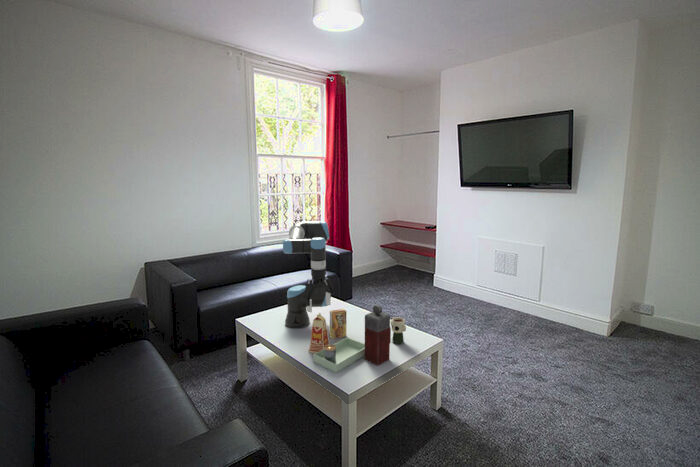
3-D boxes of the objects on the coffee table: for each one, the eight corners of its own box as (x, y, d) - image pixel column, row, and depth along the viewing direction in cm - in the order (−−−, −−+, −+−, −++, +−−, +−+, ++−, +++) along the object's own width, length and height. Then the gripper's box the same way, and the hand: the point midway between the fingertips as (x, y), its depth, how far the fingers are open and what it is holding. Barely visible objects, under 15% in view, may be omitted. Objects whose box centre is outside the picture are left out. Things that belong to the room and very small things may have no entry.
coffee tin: (322, 363, 166) (322, 347, 165) (330, 358, 171) (330, 343, 169) (330, 367, 163) (330, 351, 162) (338, 362, 167) (338, 346, 166)
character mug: (386, 340, 192) (386, 318, 190) (395, 336, 196) (395, 315, 194) (400, 347, 183) (401, 324, 181) (409, 343, 188) (410, 321, 186)
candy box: (343, 333, 201) (343, 308, 199) (346, 336, 197) (346, 310, 195) (329, 336, 197) (329, 310, 195) (332, 339, 193) (332, 313, 191)
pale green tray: (313, 362, 169) (313, 354, 168) (347, 344, 187) (347, 337, 187) (336, 373, 159) (336, 364, 158) (369, 352, 178) (369, 345, 177)
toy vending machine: (392, 357, 173) (393, 304, 169) (377, 365, 165) (378, 310, 161) (379, 351, 179) (379, 299, 175) (364, 359, 171) (364, 305, 167)
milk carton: (325, 354, 176) (324, 317, 174) (308, 352, 178) (307, 315, 175) (329, 346, 185) (329, 310, 182) (313, 344, 187) (312, 309, 184)
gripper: (305, 274, 164) (306, 316, 167) (340, 264, 183) (340, 303, 186) (294, 271, 169) (295, 313, 172) (330, 262, 187) (330, 300, 190)
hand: (319, 308), depth 179 cm, fingers open, 13 cm apart
